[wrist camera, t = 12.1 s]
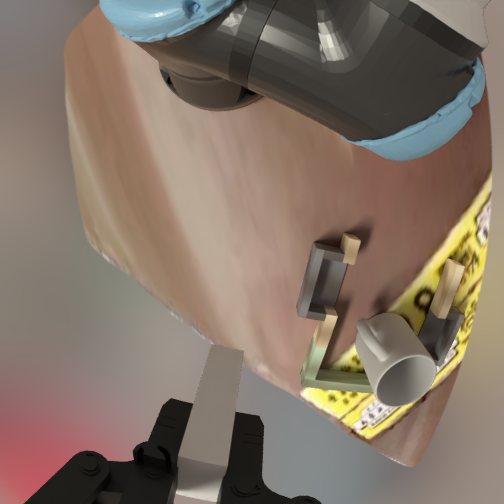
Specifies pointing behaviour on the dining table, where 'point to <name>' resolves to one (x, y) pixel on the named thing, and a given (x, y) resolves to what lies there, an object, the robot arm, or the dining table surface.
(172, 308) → the dining table surface
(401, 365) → the mug
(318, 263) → the grey-green u-shaped bracket
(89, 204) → the dining table surface
